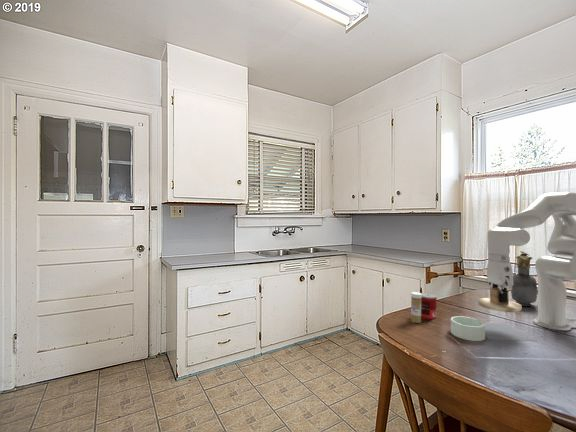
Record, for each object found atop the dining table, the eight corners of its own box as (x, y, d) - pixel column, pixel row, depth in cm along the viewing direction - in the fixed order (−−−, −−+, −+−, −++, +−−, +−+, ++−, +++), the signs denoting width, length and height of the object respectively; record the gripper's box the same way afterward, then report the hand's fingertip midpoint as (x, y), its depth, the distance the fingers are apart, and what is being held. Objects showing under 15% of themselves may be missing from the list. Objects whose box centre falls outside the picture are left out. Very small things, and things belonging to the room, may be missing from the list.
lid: (504, 300, 130) (504, 284, 130) (531, 311, 115) (531, 294, 115) (470, 300, 130) (470, 284, 130) (493, 312, 115) (492, 294, 115)
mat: (504, 324, 131) (504, 323, 131) (536, 342, 113) (536, 340, 113) (464, 323, 132) (464, 322, 132) (490, 341, 114) (490, 339, 114)
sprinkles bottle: (409, 321, 134) (409, 293, 134) (412, 319, 138) (412, 291, 138) (419, 324, 131) (420, 295, 131) (422, 321, 135) (422, 292, 135)
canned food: (435, 315, 143) (435, 293, 143) (437, 321, 135) (437, 297, 135) (418, 313, 145) (418, 292, 145) (420, 319, 138) (420, 296, 138)
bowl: (473, 330, 125) (473, 316, 125) (491, 342, 113) (492, 327, 113) (445, 329, 125) (445, 315, 125) (460, 341, 113) (461, 326, 113)
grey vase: (511, 306, 156) (512, 252, 156) (509, 298, 172) (510, 248, 171) (538, 310, 150) (538, 253, 150) (533, 301, 165) (534, 250, 165)
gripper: (522, 261, 114) (523, 306, 114) (494, 254, 130) (494, 294, 131) (503, 261, 114) (504, 307, 114) (477, 255, 131) (478, 294, 131)
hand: (499, 300), depth 122 cm, fingers closed on lid, 4 cm apart
